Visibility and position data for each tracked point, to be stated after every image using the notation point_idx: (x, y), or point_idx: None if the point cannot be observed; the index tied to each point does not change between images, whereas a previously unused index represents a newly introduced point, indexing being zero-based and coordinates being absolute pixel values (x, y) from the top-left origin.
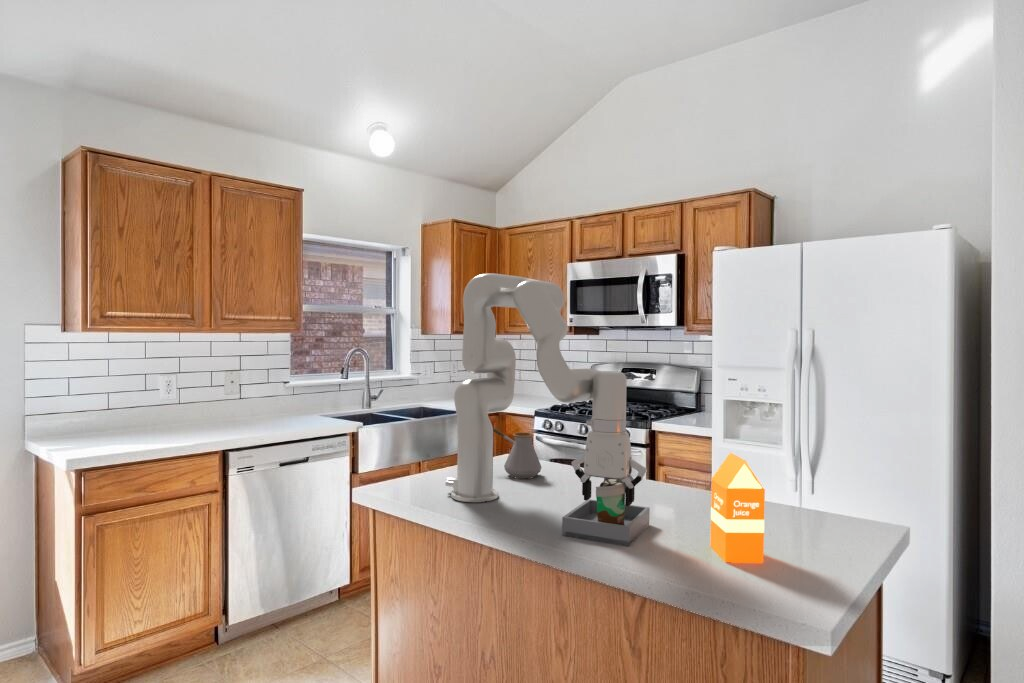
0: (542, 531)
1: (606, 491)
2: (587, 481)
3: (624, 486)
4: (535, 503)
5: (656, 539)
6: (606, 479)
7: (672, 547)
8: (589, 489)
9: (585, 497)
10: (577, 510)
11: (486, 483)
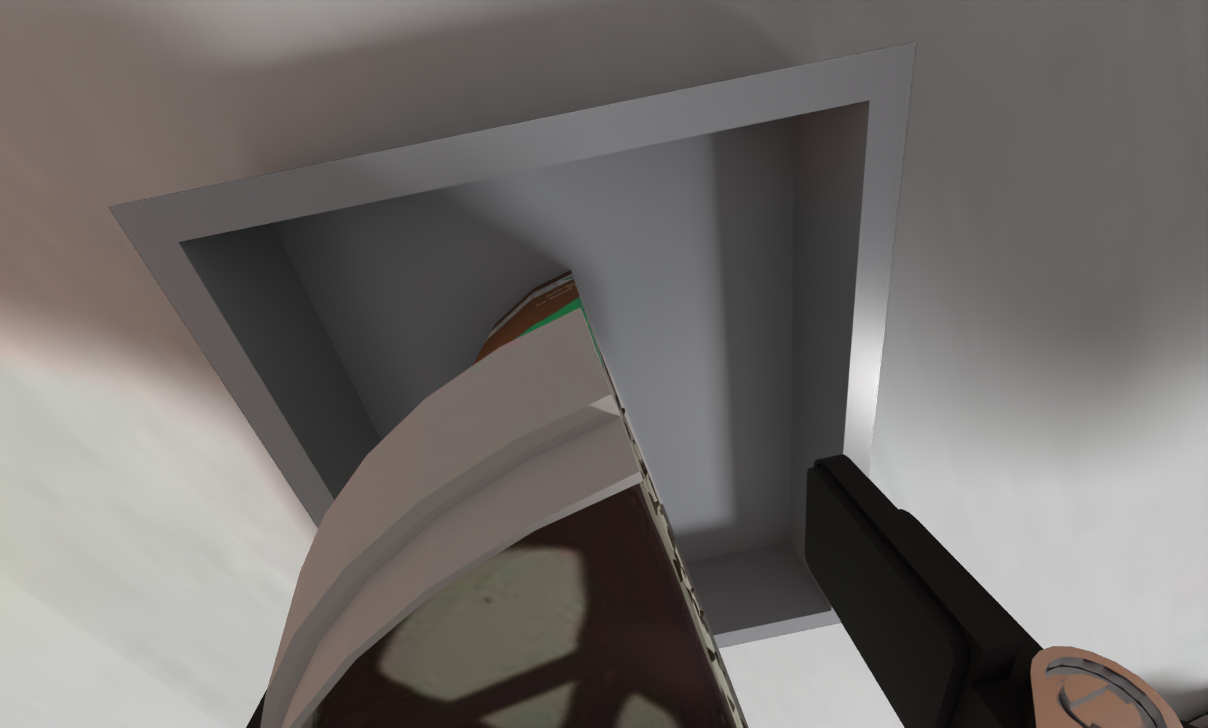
0: (982, 61)
1: (381, 503)
2: (985, 709)
3: None
4: (1119, 518)
5: (250, 444)
6: None
7: (53, 381)
8: (866, 610)
9: (840, 473)
10: (842, 387)
11: None
